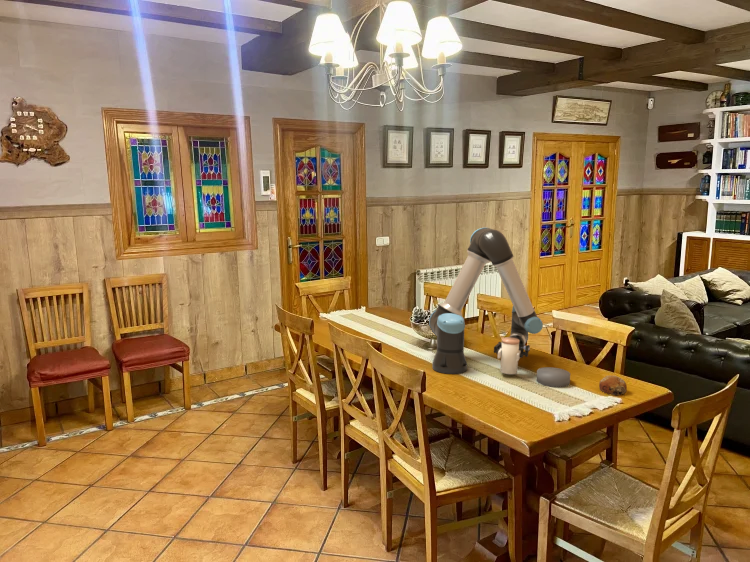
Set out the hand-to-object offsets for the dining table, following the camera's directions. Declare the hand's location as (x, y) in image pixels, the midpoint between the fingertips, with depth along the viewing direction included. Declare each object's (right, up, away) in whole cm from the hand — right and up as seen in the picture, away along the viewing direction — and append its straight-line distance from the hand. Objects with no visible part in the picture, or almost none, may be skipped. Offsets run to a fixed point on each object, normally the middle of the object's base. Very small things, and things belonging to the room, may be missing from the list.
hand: (507, 356), depth 227 cm
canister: (+2, -7, +6) cm, 9 cm away
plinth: (+18, -10, -2) cm, 21 cm away
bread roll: (+38, -12, -12) cm, 42 cm away
